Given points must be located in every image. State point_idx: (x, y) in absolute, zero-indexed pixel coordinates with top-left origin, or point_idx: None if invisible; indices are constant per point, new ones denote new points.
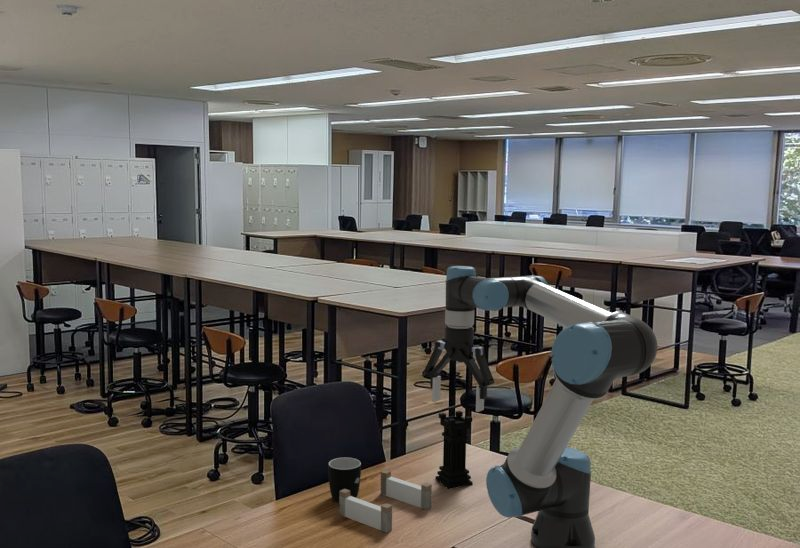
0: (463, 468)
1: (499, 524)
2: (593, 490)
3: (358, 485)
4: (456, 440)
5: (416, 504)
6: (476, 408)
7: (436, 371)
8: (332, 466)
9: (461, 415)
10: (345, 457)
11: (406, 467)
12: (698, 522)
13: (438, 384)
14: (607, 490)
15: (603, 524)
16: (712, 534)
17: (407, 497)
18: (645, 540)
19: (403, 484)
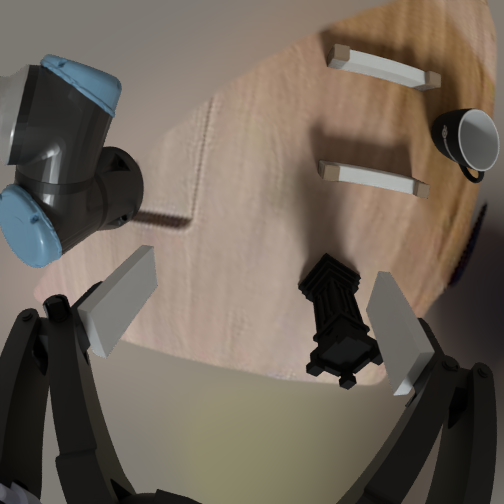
0: (315, 296)
1: (193, 180)
2: (157, 339)
3: (440, 137)
4: (331, 319)
5: (342, 163)
6: (144, 251)
7: (426, 392)
8: (491, 143)
9: (341, 379)
10: (489, 167)
11: (412, 288)
12: None
13: (391, 348)
14: (147, 344)
15: (103, 260)
16: (48, 290)
17: (362, 167)
18: None
19: (378, 173)
